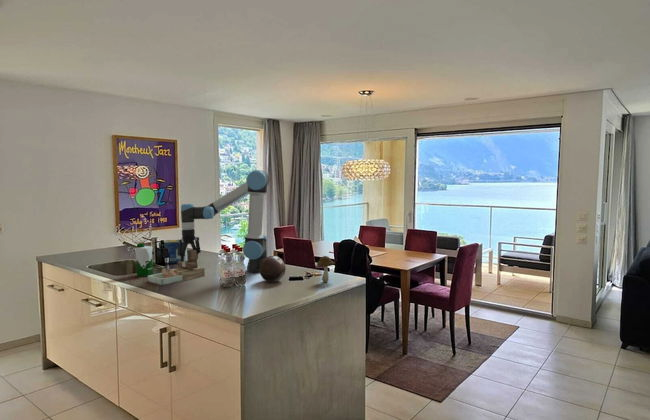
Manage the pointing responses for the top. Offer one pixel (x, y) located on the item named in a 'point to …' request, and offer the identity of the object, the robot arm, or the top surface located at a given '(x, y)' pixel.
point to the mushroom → (325, 266)
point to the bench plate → (189, 272)
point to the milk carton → (144, 260)
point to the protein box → (174, 250)
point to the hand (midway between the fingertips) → (189, 265)
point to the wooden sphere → (272, 269)
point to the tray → (160, 281)
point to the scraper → (190, 260)
